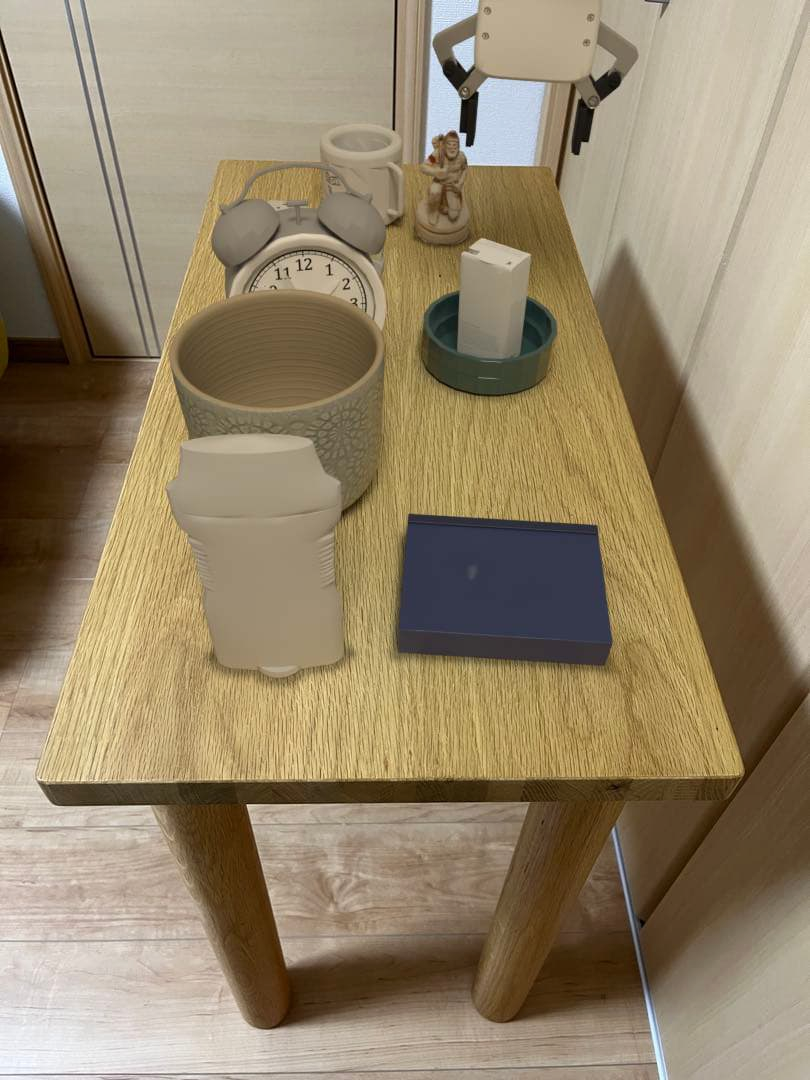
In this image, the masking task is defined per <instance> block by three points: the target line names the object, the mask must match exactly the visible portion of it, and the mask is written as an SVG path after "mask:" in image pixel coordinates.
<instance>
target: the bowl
mask: <svg viewBox="0 0 810 1080" xmlns="http://www.w3.org/2000/svg"><path fill="white" fill-rule="evenodd" d="M459 292H460V289H458V290H455V291H452V292H449V293H446V294H444V295H442V296H440V297H439V298H437V299H436V300H434V301H433V302H431V303H430V304H429V306H428V307H427V309H425V311H424V313H423V322H422V339H421V341H422V343H421V359H422V361H423V363H424V365H425V367H426V369H427V370H428V372H430V373H431V374H432V375H433V376H434V377H435V378H436V379H437V380H439V382H441V383H444V384H446V385H448V386H450V387H451V388H454V389H457V390H461V391H465V392H469V393H472V394H476V395H494V396H497V395H505V394H511V393H512V394H513V393H518V392H521V391H524V390H527V389H528V388H531V387H534V386H536V385H537V384H538V383H540V381H542V380H543V379H544V378H545V377H547V375H548V374H549V372H550V369H551V367H552V364H553V359H554V354H555V349H556V343H557V338H558V333H559V332H558V323H557V320H556V318H555V316H554V315H553V313H552V311H550V309H549V308H548V307H546V306H545V305H543V304H542V303H541V302H540V301H538V300H537V299H535V298H533V297H530V296H529V295H527V298H526V307H525V315H524V324H523V333H522V341H521V351H520V355H519V356H518V357H511V358H504V359H494V358H479V357H475V356H471V355H467V354H463V353H460V352H458V351H457V338H458V314H459Z"/></svg>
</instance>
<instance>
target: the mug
mask: <svg viewBox="0 0 810 1080" xmlns="http://www.w3.org/2000/svg"><path fill="white" fill-rule="evenodd" d="M403 145H404V143H403V139H402V138H401V135H399V133H398V132H396V131H395V130H393V129H391V128H389V127H387V126H384V125H379V124H373V123H348V124H342V125H338V126H335V127H332V128H330V129H328V130H326V131H325V132H324V133H323V134H322V135H321V138H320V139H319V156H320V164H324V165H328V166H331V167H333V168H335V169H336V170H337V171H338V172H339V173H340V174H341V175H343V177H344V179H345V181H346V182H347V184H348V185H349V186H350V187H351V188H352V189H353V190H355V191H357V192H358V193H360V194H362V195H364V196H365V195H366V194H368V193H372V194H373V196H372V198H373V199H372V201H371V204H372V205H373V206H374V207H375V208H376V209H377V210H378V212H379V213H380V215H381V217H382V218H383V221H384V223H385V226H388V225H391V224H392V223H394V222H395V221H396V220H397V219H398V218H400V217H402V216H403V215H404V214H405V213H404V212H405V172H404V171H403V170H402V161H403V152H404V151H403V149H404V147H403ZM320 170H321V171H320V172H321V189H322V200H323V199H324V198H325V197H327V196H328V195H330V194H333V193H338V192H348V193H350V192H349V191H348V190H347V189H346V188H345V186H344V185H343V183H342V182H341V180H340V179H339V178H338V177H336V176H335V175H334V174H333V173H332V172H330V171H326V170H323V169H320Z"/></svg>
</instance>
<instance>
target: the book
mask: <svg viewBox="0 0 810 1080" xmlns="http://www.w3.org/2000/svg"><path fill="white" fill-rule="evenodd" d="M599 533H600V532H599V526H598V524H589V523H572V522H555V521H539V520H538V521H537V520H520V519H504V518H488V517H471V516H455V515H454V516H453V515H436V514H422V513H421V514H419V513H408V514H407V525H406V536H405V537H406V538H405V549H404V561H403V572H402V583H401V596H400V607H399V619H398V620H399V621H398V630H397V631H398V633H397V634H398V635H397V636H398V637H397V653H401V654H415V655H416V654H417V655H432V656H445V657H446V656H449V657H463V658H479V659H491V660H493V659H494V660H510V661H525V662H539V663H555V664H556V663H557V664H569V665H570V664H571V665H573V664H574V665H586V666H587V665H588V666H601V667H602V666H603V667H604V666H605V665H606V663H607V660H608V658H609V654H610V653H611V652H610V651H611V649H612V646H613V637H612V629H611V627H612V626H611V620H610V613H609V605H608V599H607V598H608V597H607V591H606V584H605V576H604V567H603V561H602V553H601V545H600V536H599V535H600V534H599Z"/></svg>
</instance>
